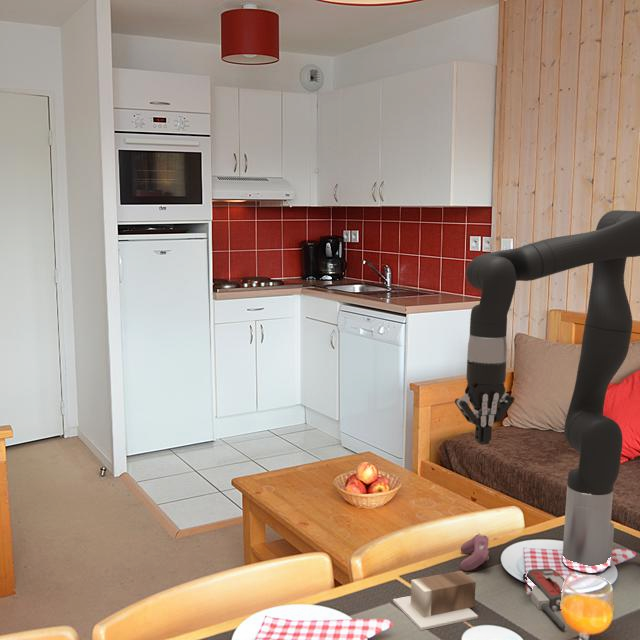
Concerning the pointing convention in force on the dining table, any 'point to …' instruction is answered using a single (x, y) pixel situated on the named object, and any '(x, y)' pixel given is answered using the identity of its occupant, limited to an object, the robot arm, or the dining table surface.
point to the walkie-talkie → (546, 591)
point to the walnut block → (442, 593)
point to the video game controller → (475, 552)
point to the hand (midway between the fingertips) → (482, 443)
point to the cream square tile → (434, 620)
